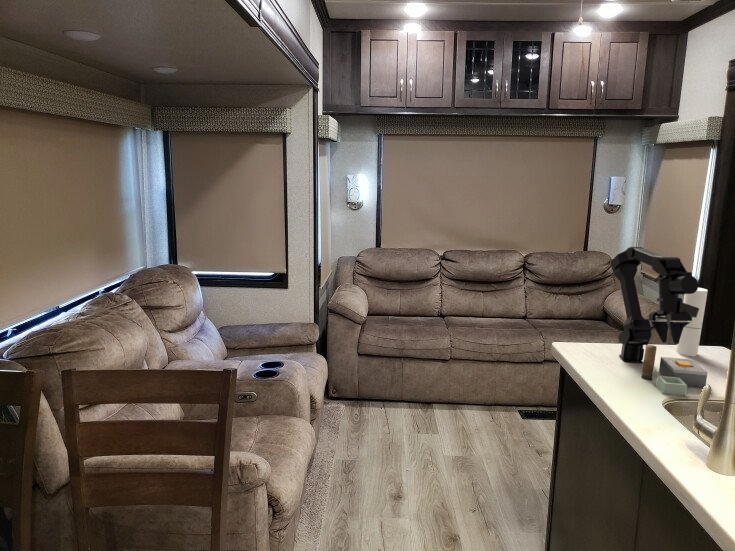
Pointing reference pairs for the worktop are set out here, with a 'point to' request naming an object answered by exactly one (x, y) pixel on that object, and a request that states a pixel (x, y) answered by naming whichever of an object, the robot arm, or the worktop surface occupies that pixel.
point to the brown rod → (649, 362)
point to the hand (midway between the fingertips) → (670, 343)
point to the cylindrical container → (693, 324)
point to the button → (683, 363)
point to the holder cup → (671, 385)
